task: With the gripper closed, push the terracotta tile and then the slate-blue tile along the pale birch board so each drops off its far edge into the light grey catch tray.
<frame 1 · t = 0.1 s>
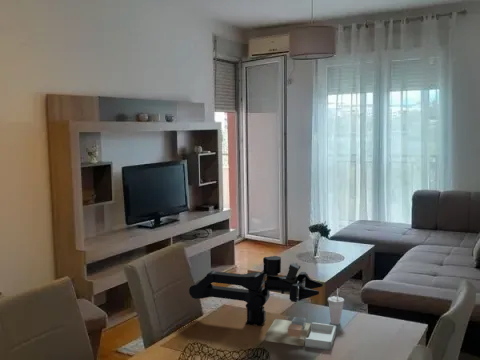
hand: (320, 288, 187), 17 cm above the table, tool horizontal, fingers open, 9 cm apart
tile front: (295, 333, 181), point 2 cm above the table, touching board
tray: (321, 339, 181), on the table
board: (288, 335, 185), on the table
tile back: (298, 326, 187), point 2 cm above the table, touching board
smoothie: (335, 323, 197), on the table
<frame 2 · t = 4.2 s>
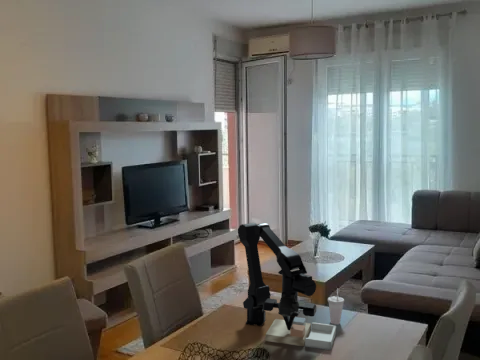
hand: (289, 329, 181), 4 cm above the table, tool pointing down, fingers closed
tile front: (297, 333, 180), point 3 cm above the table, touching gripper
everything else where it was.
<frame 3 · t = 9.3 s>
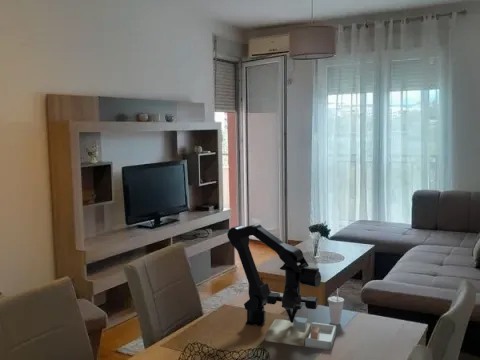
hand: (291, 322, 188), 4 cm above the table, tool pointing down, fingers closed
tile front: (311, 335, 178), point 3 cm above the table, tilted 90°, touching tray
tile back: (300, 326, 187), point 3 cm above the table, touching gripper
everything else where it was.
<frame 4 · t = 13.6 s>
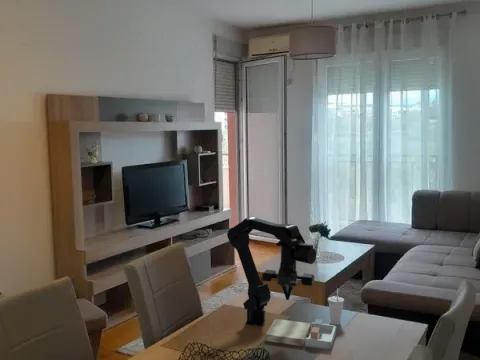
hand: (287, 299, 185), 13 cm above the table, tool pointing down, fingers closed
tile back: (315, 327, 186), point 3 cm above the table, tilted 90°, touching tray
everything else where it was.
at the end: tile front inside the target area (5.3 cm from its centre), point 2.8 cm above the table; tile back inside the target area (5.3 cm from its centre), point 2.8 cm above the table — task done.
